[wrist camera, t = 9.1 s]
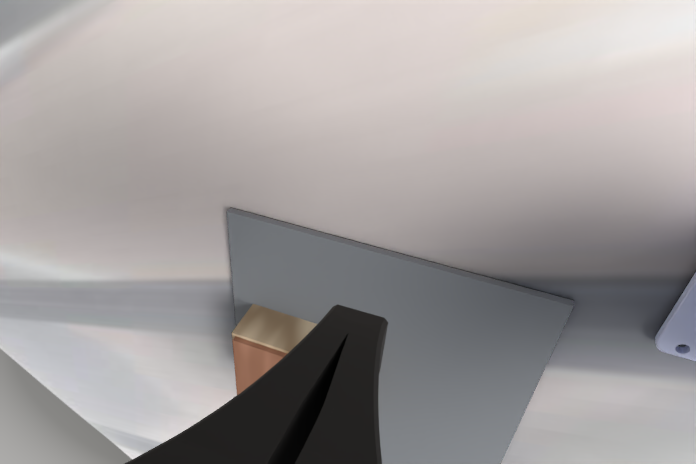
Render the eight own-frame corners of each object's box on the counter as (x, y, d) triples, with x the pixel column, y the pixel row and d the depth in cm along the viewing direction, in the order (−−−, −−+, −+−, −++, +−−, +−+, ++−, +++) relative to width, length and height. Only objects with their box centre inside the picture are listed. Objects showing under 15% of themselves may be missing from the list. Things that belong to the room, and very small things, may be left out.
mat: (573, 300, 22) (574, 306, 22) (480, 502, 33) (479, 508, 32) (230, 207, 26) (226, 211, 26) (245, 415, 37) (243, 419, 36)
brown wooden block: (352, 378, 25) (228, 336, 27) (344, 445, 29) (235, 404, 30) (369, 340, 27) (253, 303, 29) (359, 407, 31) (256, 371, 32)
